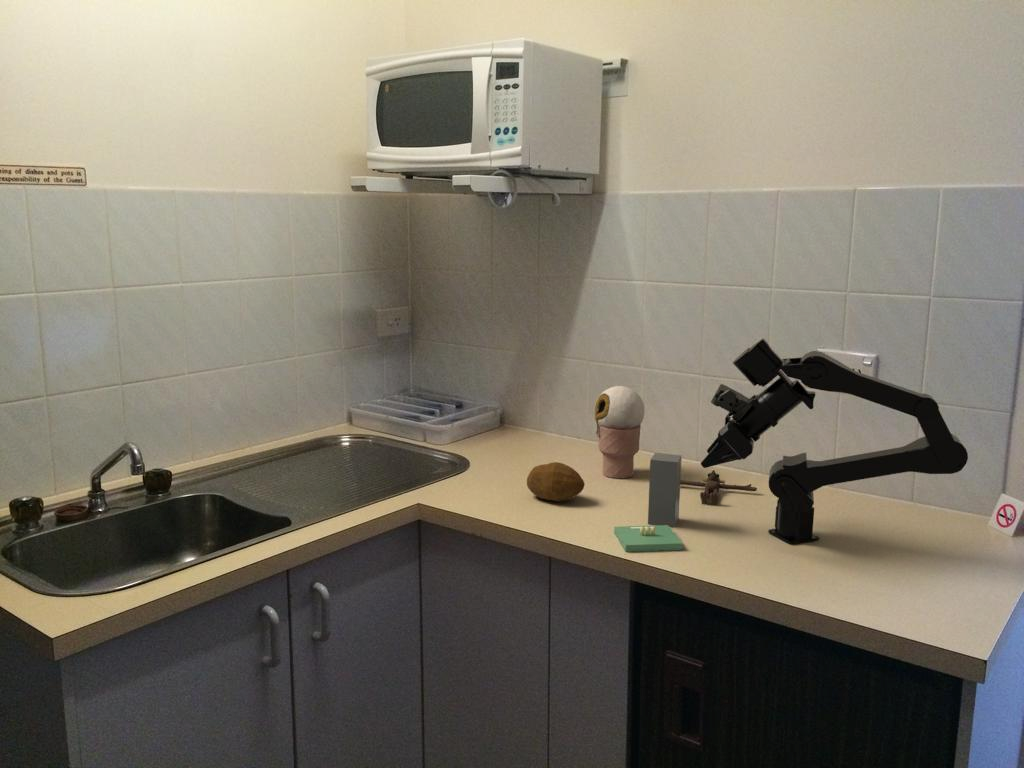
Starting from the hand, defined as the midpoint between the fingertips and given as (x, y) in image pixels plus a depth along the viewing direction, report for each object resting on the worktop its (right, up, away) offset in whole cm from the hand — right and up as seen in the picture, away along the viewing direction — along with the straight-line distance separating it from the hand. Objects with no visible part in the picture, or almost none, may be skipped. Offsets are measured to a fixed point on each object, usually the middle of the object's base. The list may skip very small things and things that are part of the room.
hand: (705, 459), depth 159 cm
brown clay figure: (+6, -10, +21) cm, 24 cm away
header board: (-12, -14, -5) cm, 19 cm away
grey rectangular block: (-7, -12, +5) cm, 15 cm away
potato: (-27, -10, +17) cm, 33 cm away
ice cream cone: (-12, -7, +34) cm, 37 cm away
